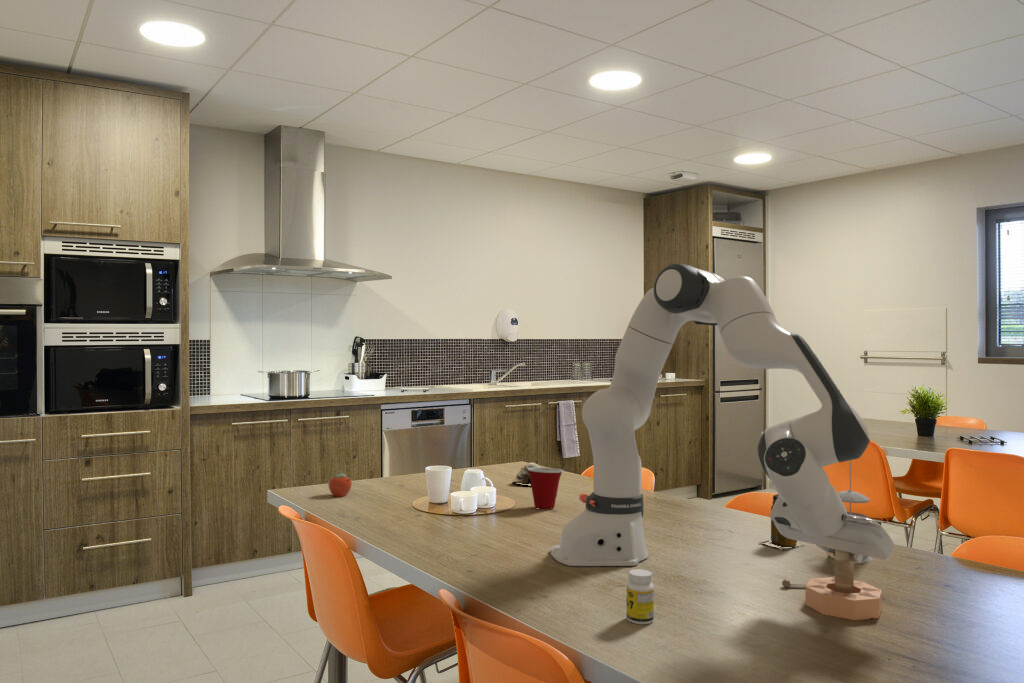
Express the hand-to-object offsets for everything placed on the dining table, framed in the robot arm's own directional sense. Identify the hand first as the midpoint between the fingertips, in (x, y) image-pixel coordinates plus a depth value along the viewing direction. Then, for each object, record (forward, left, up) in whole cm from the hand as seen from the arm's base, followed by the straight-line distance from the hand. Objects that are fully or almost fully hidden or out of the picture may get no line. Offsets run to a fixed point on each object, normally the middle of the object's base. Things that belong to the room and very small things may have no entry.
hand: (845, 556), depth 136 cm
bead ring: (-1, 0, -9) cm, 9 cm away
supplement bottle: (-41, +2, -10) cm, 42 cm away
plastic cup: (-33, +92, -9) cm, 98 cm away
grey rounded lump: (-27, +130, -10) cm, 133 cm away
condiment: (+13, +41, -10) cm, 44 cm away
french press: (+22, +29, -10) cm, 38 cm away
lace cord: (+3, +10, -9) cm, 14 cm away
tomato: (-93, +122, -10) cm, 153 cm away
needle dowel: (-1, 0, -7) cm, 7 cm away
